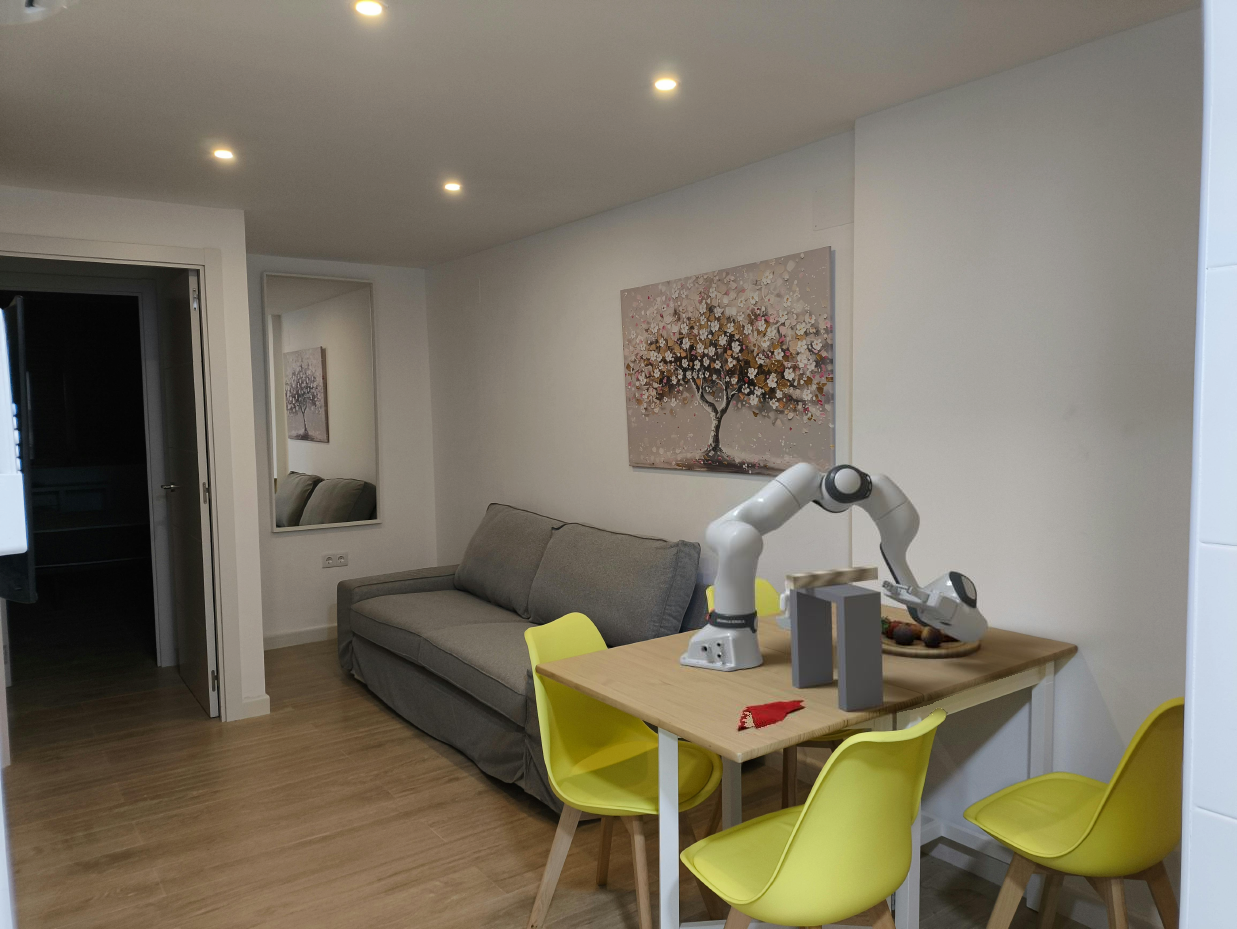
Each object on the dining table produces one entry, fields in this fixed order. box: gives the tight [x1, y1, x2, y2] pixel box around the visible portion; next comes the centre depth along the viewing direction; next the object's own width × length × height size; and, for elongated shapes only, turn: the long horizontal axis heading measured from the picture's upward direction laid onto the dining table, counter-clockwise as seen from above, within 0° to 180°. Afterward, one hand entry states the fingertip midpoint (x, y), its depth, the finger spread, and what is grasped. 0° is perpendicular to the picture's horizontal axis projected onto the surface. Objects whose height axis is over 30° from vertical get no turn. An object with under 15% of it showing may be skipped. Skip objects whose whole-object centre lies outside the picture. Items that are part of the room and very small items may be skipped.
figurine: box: [774, 580, 791, 631], centre depth 269 cm, size 7×9×15 cm
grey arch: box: [790, 583, 884, 713], centre depth 203 cm, size 10×22×26 cm, turn 21°
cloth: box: [736, 699, 806, 731], centre depth 192 cm, size 26×14×2 cm, turn 124°
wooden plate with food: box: [881, 615, 982, 660], centre depth 246 cm, size 32×32×8 cm
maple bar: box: [785, 565, 879, 590], centre depth 206 cm, size 24×3×3 cm, turn 111°
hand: (896, 586), depth 213 cm, fingers open, 8 cm apart
